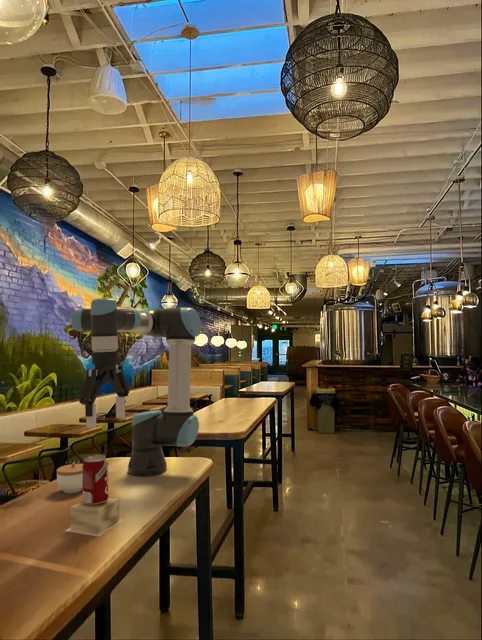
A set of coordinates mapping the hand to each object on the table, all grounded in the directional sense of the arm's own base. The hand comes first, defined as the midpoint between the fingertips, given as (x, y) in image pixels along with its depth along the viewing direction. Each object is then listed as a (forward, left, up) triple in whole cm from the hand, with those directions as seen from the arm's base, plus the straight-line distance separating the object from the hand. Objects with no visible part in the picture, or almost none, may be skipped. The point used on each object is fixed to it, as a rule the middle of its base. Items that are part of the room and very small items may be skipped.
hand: (106, 422), depth 130 cm
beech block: (+8, +2, -26) cm, 28 cm away
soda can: (+8, +2, -20) cm, 22 cm away
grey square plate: (+7, 0, -27) cm, 28 cm away
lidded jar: (-16, -27, -28) cm, 42 cm away
